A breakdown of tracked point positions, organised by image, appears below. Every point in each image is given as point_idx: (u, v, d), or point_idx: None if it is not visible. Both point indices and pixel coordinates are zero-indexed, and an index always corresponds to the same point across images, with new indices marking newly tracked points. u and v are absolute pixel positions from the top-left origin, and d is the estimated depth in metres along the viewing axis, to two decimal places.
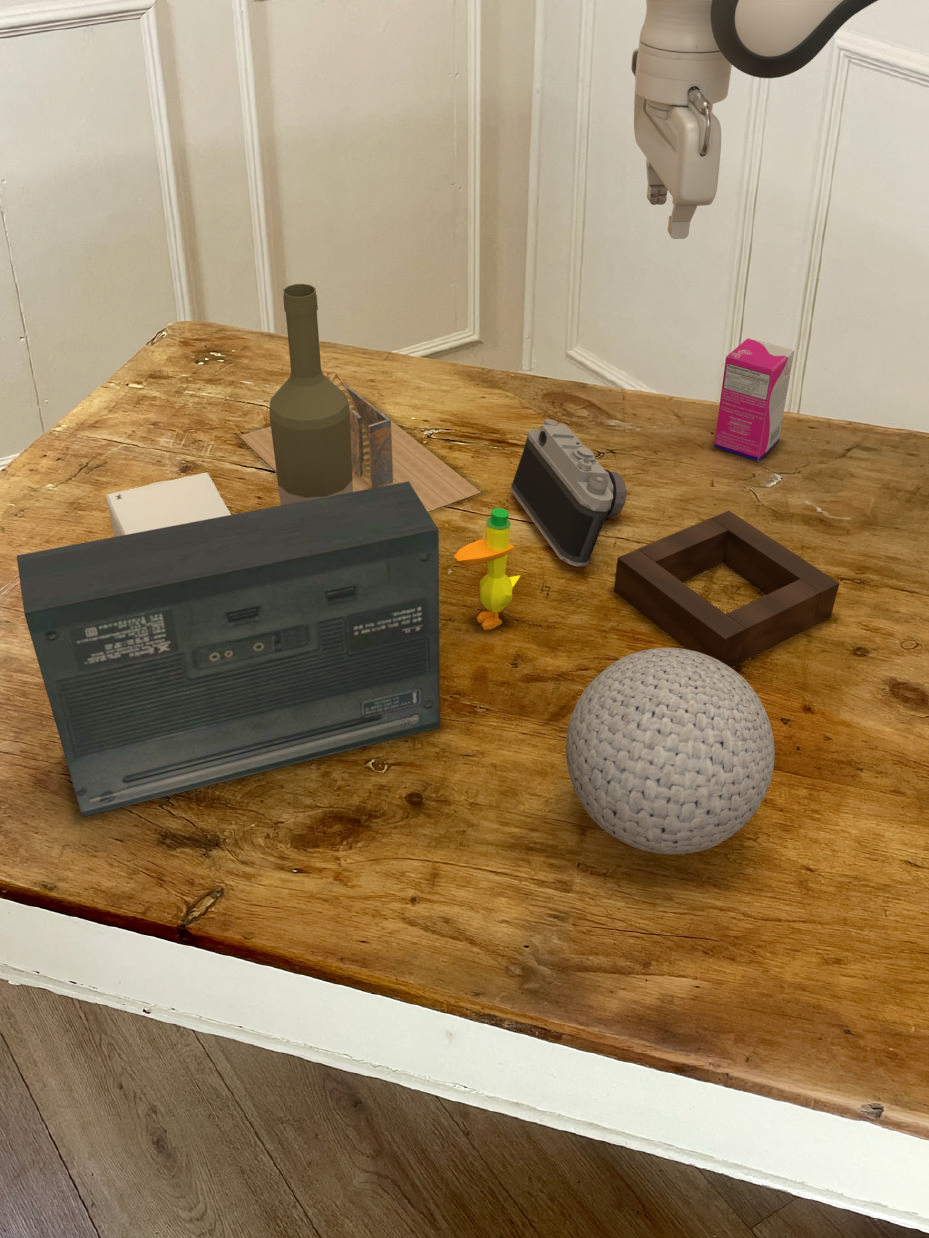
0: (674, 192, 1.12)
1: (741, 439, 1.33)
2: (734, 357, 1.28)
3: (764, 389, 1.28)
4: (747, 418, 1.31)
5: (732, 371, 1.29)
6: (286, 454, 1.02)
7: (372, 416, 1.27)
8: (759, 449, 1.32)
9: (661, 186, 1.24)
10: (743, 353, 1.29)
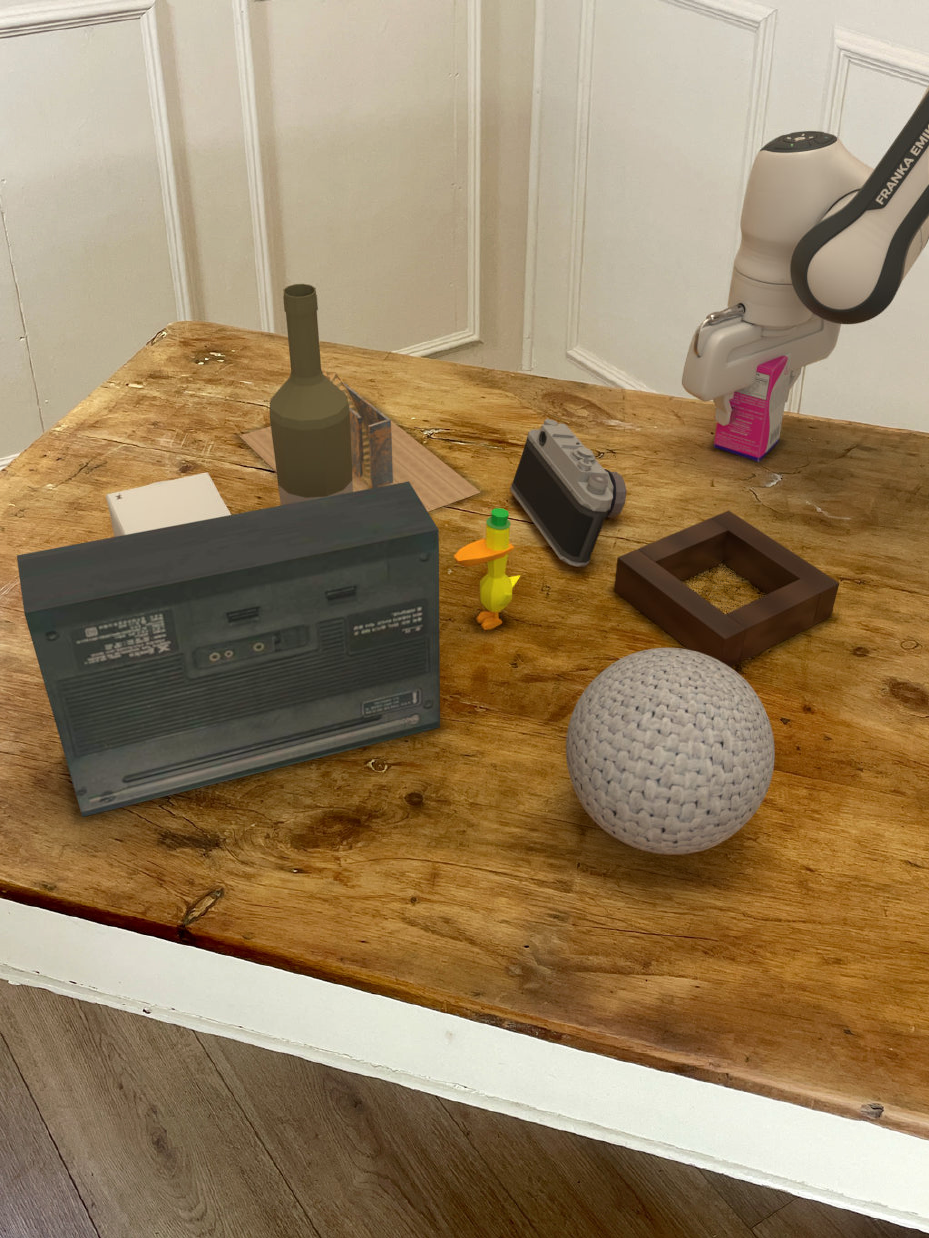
0: None
1: (741, 439, 1.33)
2: None
3: (764, 389, 1.28)
4: (746, 418, 1.31)
5: None
6: (286, 454, 1.02)
7: (372, 416, 1.27)
8: (759, 449, 1.32)
9: None
10: None
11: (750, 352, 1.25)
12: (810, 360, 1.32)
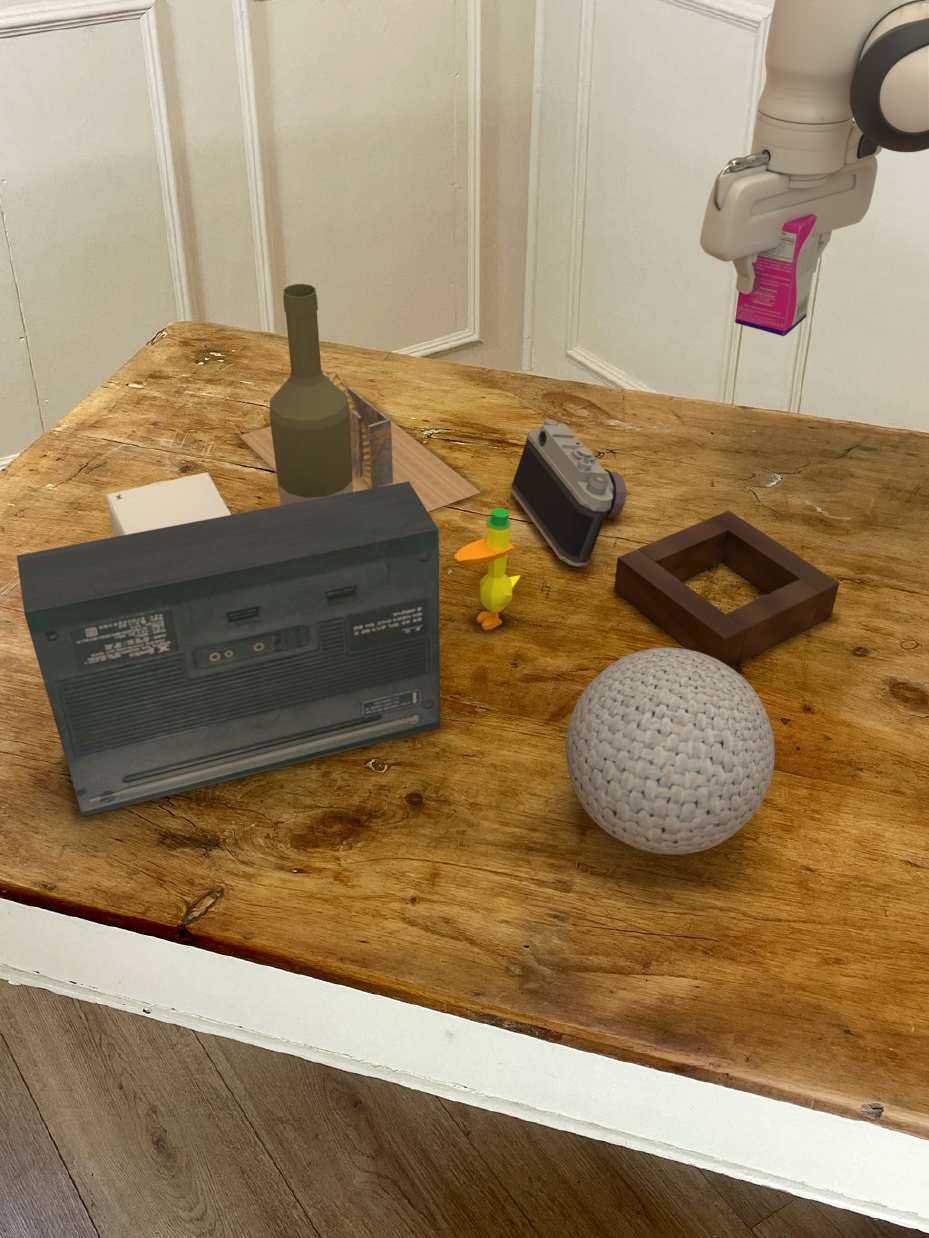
0: None
1: (765, 310, 1.21)
2: None
3: (791, 250, 1.16)
4: (771, 285, 1.19)
5: None
6: (286, 454, 1.02)
7: (372, 416, 1.27)
8: (785, 321, 1.20)
9: None
10: None
11: (776, 207, 1.14)
12: (840, 223, 1.20)
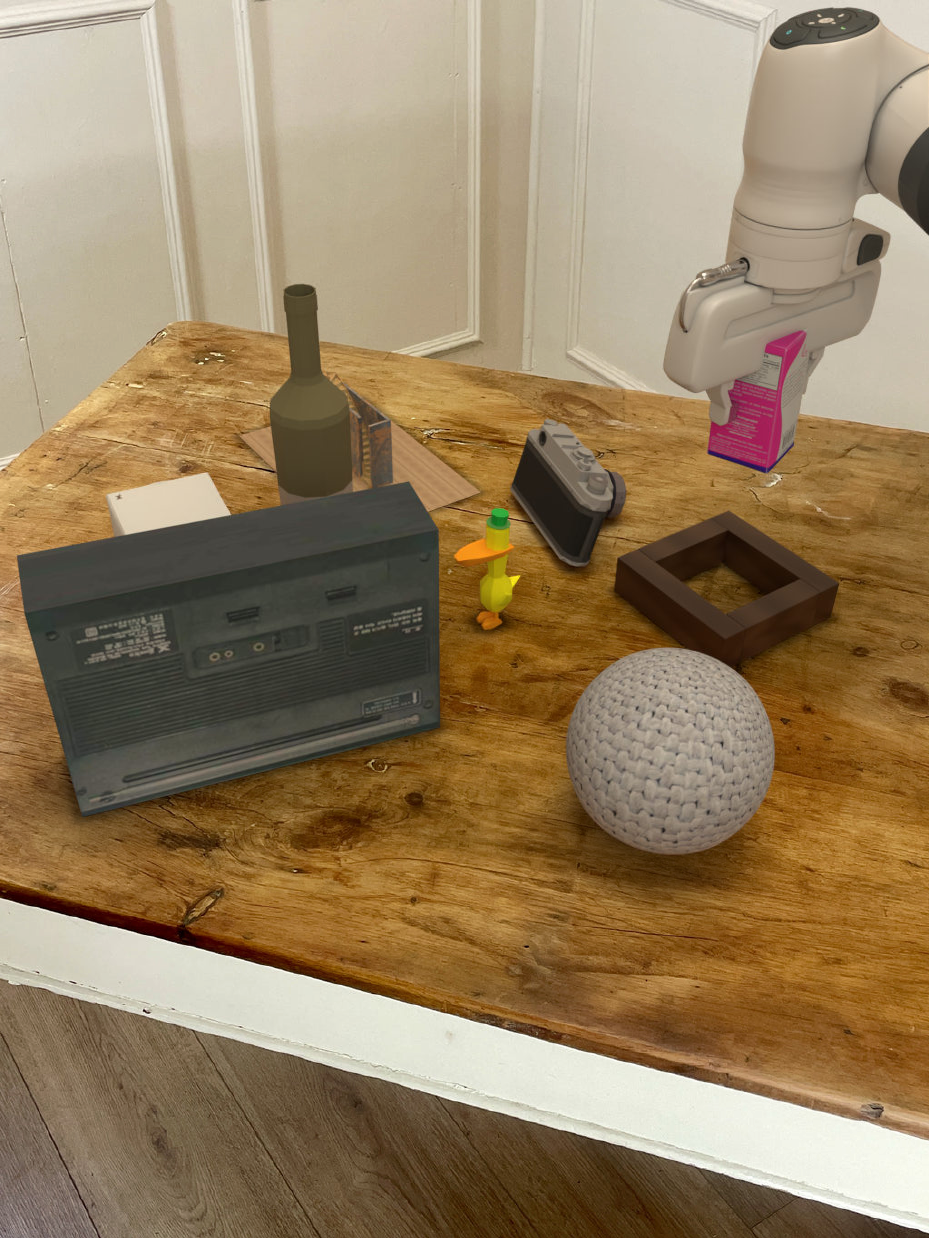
0: None
1: (743, 443, 0.99)
2: None
3: (774, 376, 0.94)
4: (751, 415, 0.97)
5: None
6: (286, 454, 1.02)
7: (372, 416, 1.27)
8: (768, 456, 0.99)
9: None
10: None
11: (757, 326, 0.92)
12: (836, 337, 0.98)
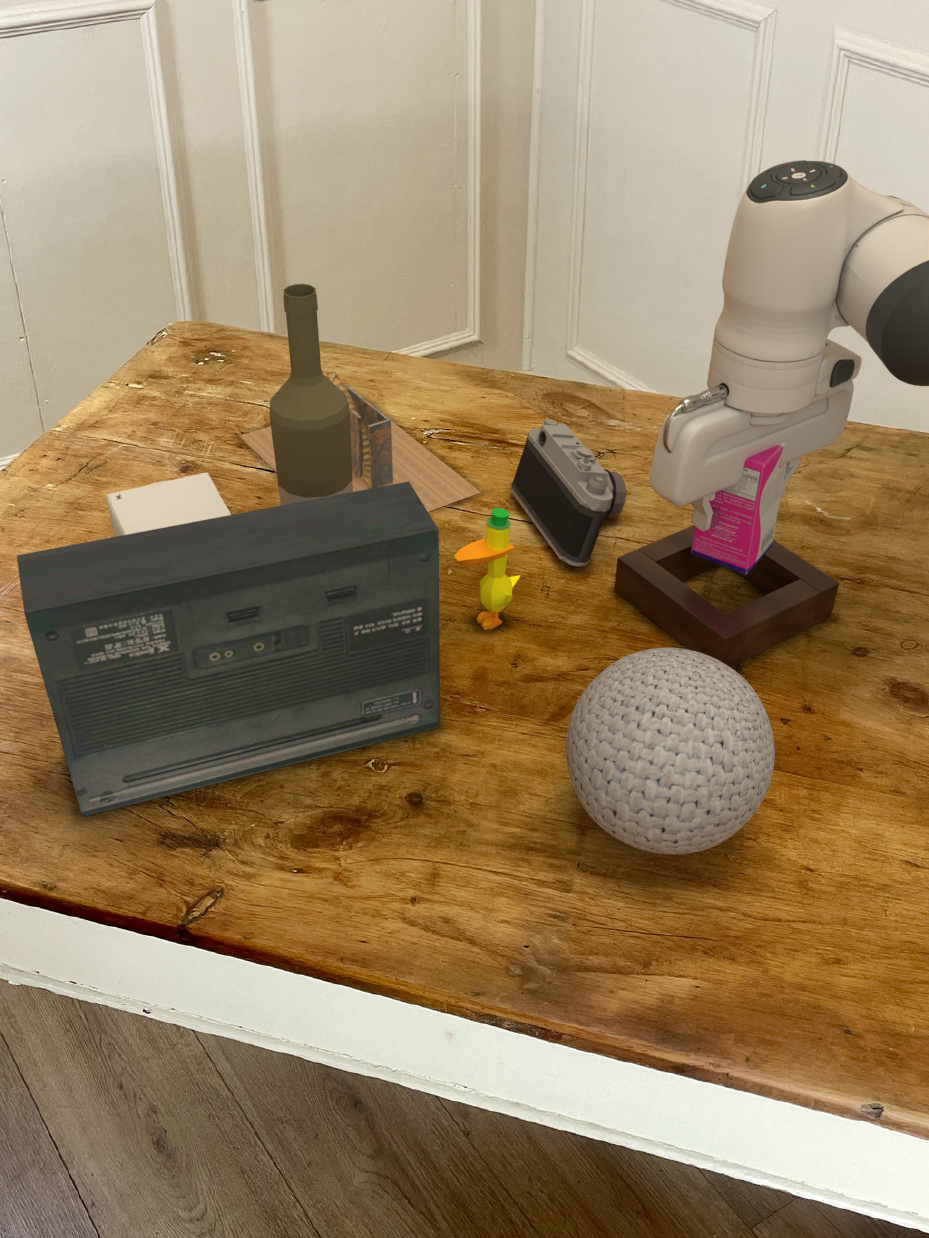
0: None
1: (724, 546, 1.06)
2: None
3: (753, 488, 1.01)
4: (731, 521, 1.04)
5: None
6: (286, 454, 1.02)
7: (372, 416, 1.27)
8: (747, 559, 1.05)
9: None
10: None
11: (736, 444, 0.98)
12: (811, 448, 1.05)
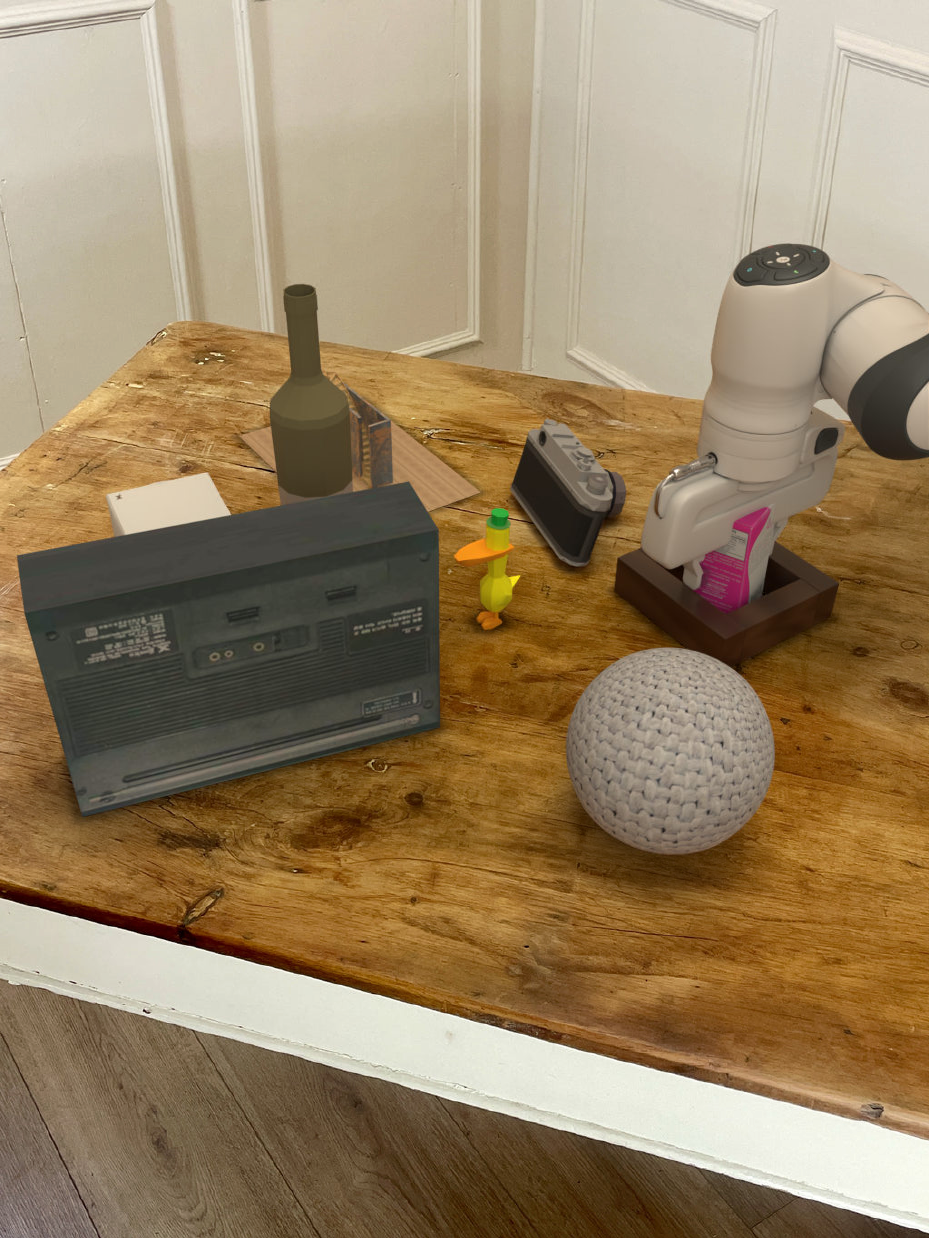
0: None
1: (715, 602, 1.10)
2: None
3: (742, 548, 1.05)
4: (721, 579, 1.08)
5: None
6: (286, 454, 1.02)
7: (372, 416, 1.27)
8: None
9: None
10: None
11: (724, 509, 1.02)
12: (798, 509, 1.09)
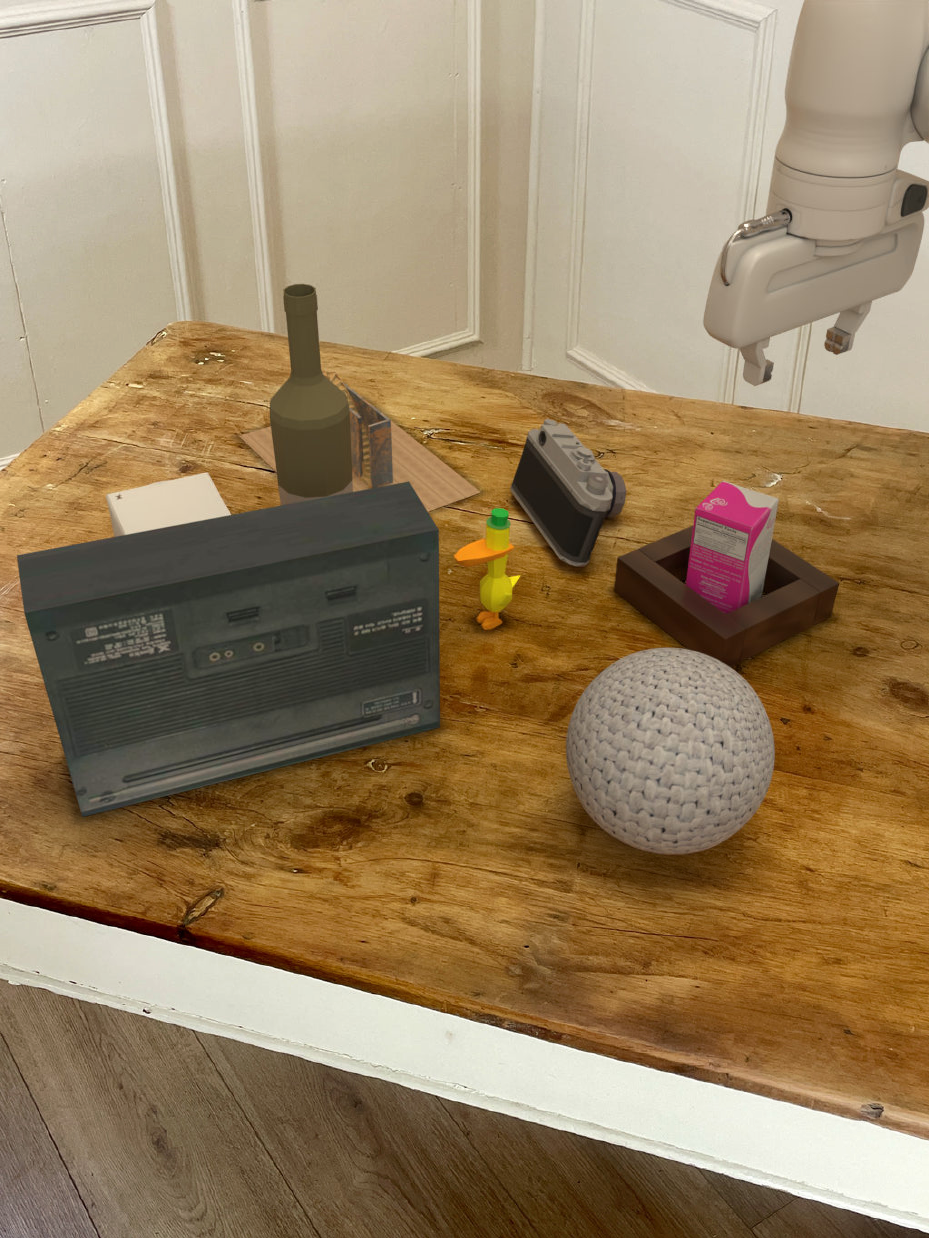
0: None
1: (715, 602, 1.10)
2: (705, 508, 1.05)
3: (742, 548, 1.05)
4: (721, 579, 1.08)
5: (703, 525, 1.06)
6: (286, 454, 1.02)
7: (372, 416, 1.27)
8: None
9: (841, 333, 0.99)
10: (717, 504, 1.06)
11: (799, 279, 0.90)
12: (878, 293, 0.96)
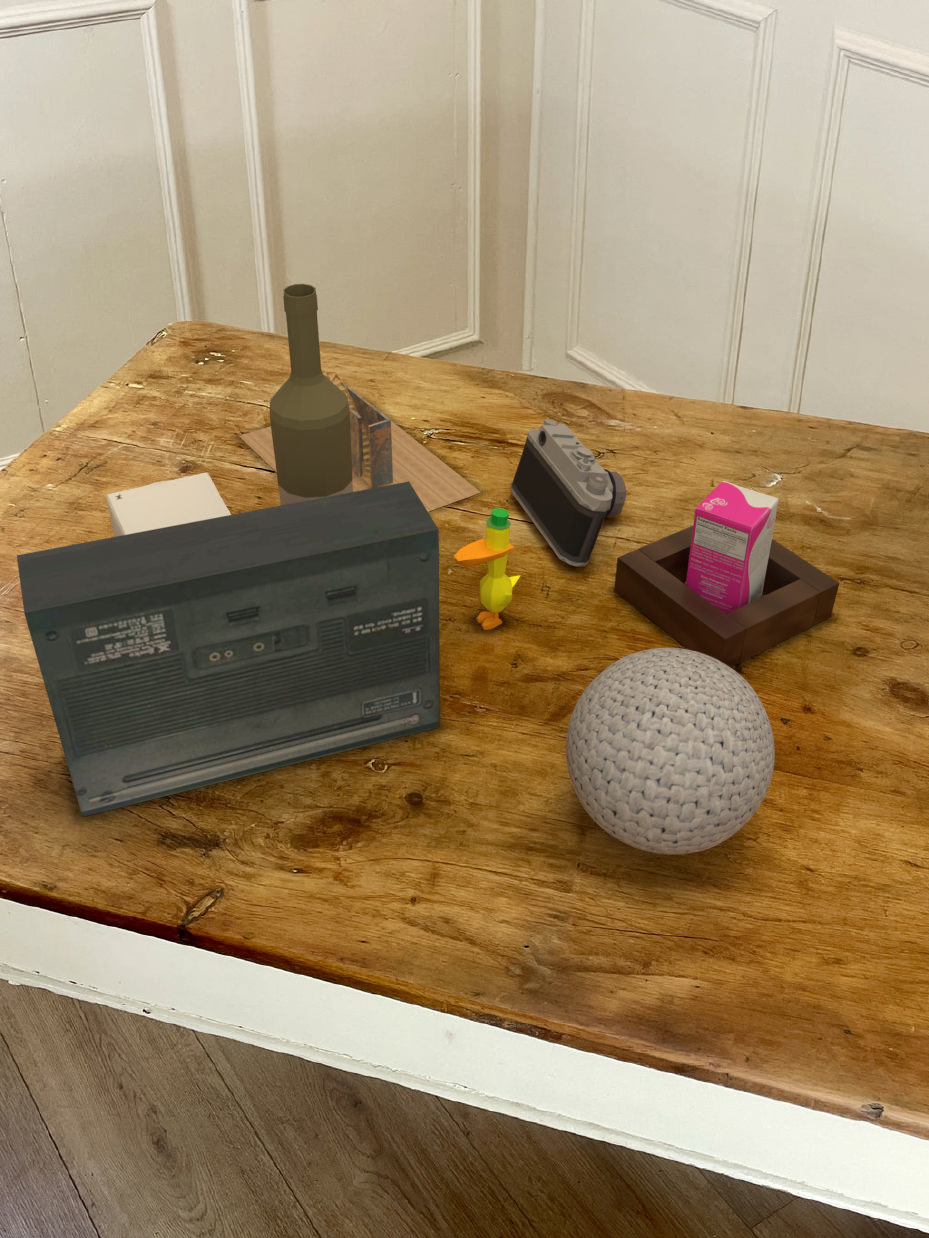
0: None
1: (715, 602, 1.10)
2: (705, 509, 1.05)
3: (742, 548, 1.05)
4: (721, 579, 1.08)
5: (703, 525, 1.06)
6: (286, 454, 1.02)
7: (372, 416, 1.27)
8: None
9: None
10: (717, 504, 1.06)
11: None
12: None
